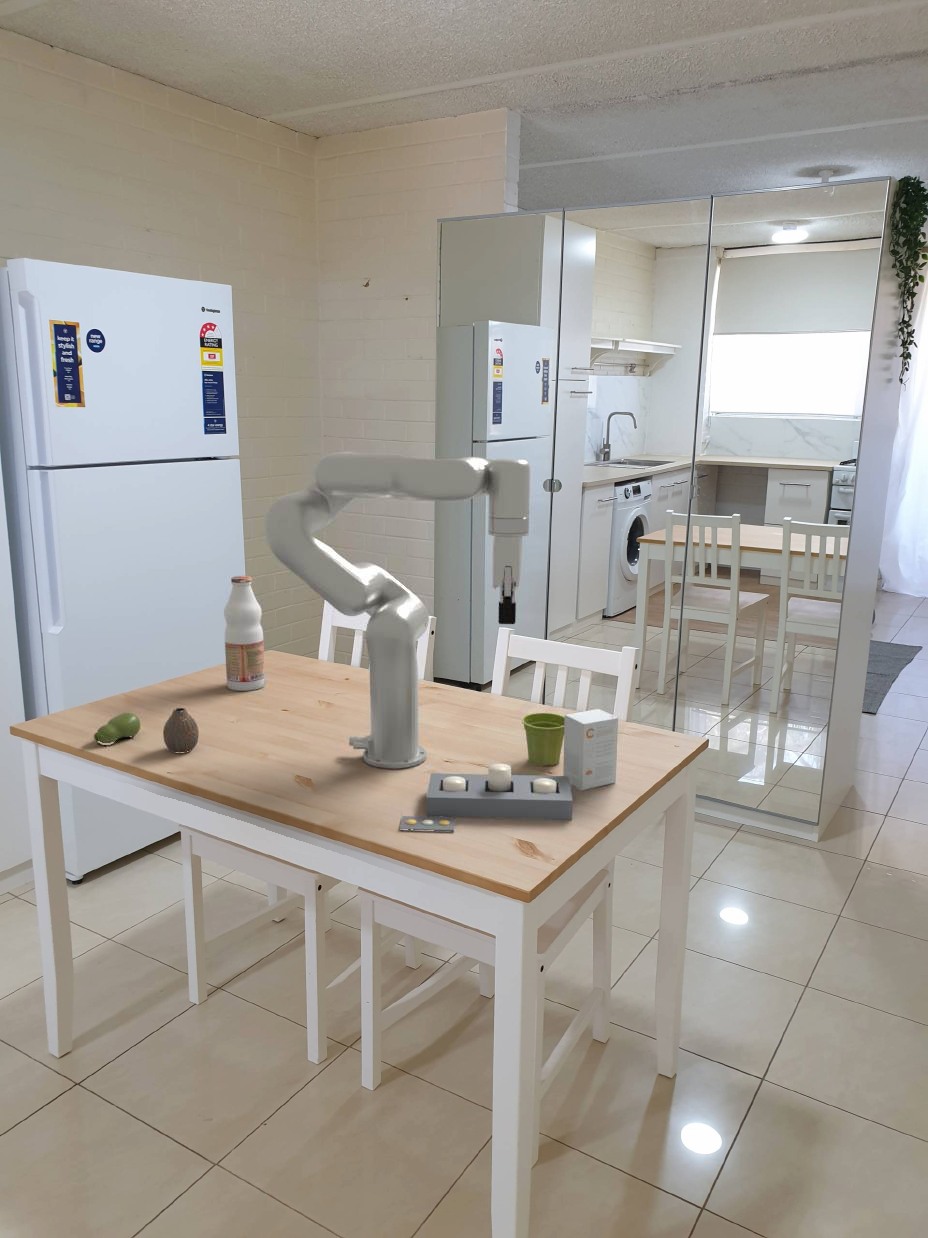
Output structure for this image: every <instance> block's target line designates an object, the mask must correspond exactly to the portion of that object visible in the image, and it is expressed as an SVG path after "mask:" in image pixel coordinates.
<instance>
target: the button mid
mask: <svg viewBox="0 0 928 1238" xmlns="http://www.w3.org/2000/svg"><path fill="white" fill-rule="evenodd" d="M487 769H488V772H487V775H488V788H489V789H490V790H493V791H507V790H509V789H510V788H511V775H512V767H511V765H508V764H505V763H493V764H490V765H489V766H488V768H487Z"/></svg>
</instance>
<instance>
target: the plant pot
mask: <svg viewBox="0 0 928 1238" xmlns="http://www.w3.org/2000/svg"><path fill="white" fill-rule="evenodd" d="M521 722H522V724H523V729H524V731H525V735H526V736H525V737H526V744H527V757H528V761H530V763H531V764H532V765H535V766H539V767H545V766H556V765H558V763H560V759H561V754H562V748H563V744H564V722H565V715H564V716H563V715H562V714H561V715H560V714H558V713H553V712H534V713H529V714H526V715H524V716H522V718H521Z"/></svg>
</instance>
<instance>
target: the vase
mask: <svg viewBox="0 0 928 1238" xmlns="http://www.w3.org/2000/svg"><path fill="white" fill-rule="evenodd" d="M162 734H163V735H162V736H163V742H164V744H165V746H166V748H167V749H168V750H169V751H171V752H172V751H173V752H187V751H190V750H191V751H193V750H194V748H195V747H196V746H197V744H198V742H199V734H200V733H199V726H198V725H197V722H196V720H195V719H194V718H193V716H191V715H190V714H189V713H188V710H187V709H186V708H185V707H176V708H174V709H173V711H172V713H171V715H170V716H169V717H168V719H167V720H166V722H165V724H164V728H163V732H162ZM191 751H190V752H191ZM173 752H172V753H173ZM187 753H188V752H187Z"/></svg>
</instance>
